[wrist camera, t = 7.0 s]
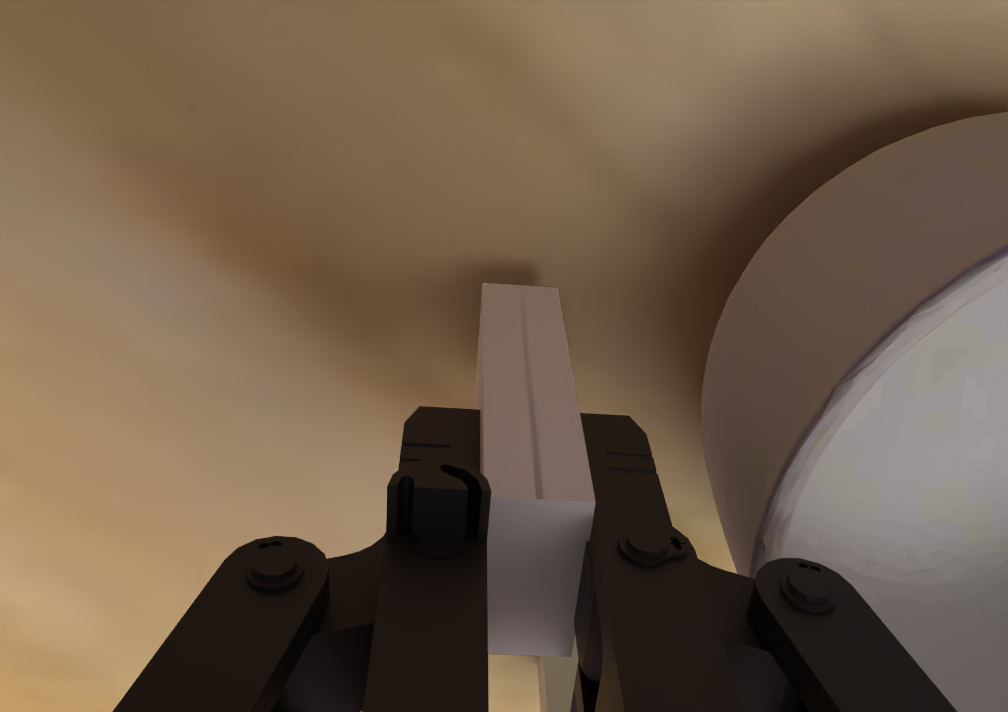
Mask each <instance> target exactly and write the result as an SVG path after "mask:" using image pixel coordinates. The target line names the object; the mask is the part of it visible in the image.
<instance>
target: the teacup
mask: <svg viewBox="0 0 1008 712" xmlns="http://www.w3.org/2000/svg"><path fill="white" fill-rule="evenodd" d="M701 419H702V436H703V444H704V452H705V460H706V466H707V470H708V474H709V478H710V482H711V486H712V491H713V495H714V499H715V503H716V507H717V511H718V515H719V518H720V521H721V525H722V528H723V531H724V534H725V538H726V541H727V544H728V547H729V550H730V553H731V556H732V559H733V561H734V564H735V567H736V570H737V573H738V574H739V575H743V576H746V577H750V578H753V579H755V578H756V574H757V571H758V570H759V569H760V568H761V567H762V566H763V565H764V564H765V563H766V562H770V561H773V560H776V559H779V558H801V559H805V560H809V561H813V562H817V563H820V564H822V565H824V566H826V567H828V568H830V569H832V570H834V571H835V572H837V573H839V574H840V575H841V576H842V577H843V578H844V579H846V580H847V581H848V582H849V583H850V584H851V585H852V586H853V587H854V588H855V589H856V590H857V592H858V593H859V594H860V595H861V596H862V598H863V599H864V600H865V601H866V602H867V604H868V605H869V606H870V607H871V608H872V610H873V611H874V612H875V613H876V614H877V616H878V617H879V618H880V619H881V620H882V622H883V623H884V624H885V625H886V626H887V628H888V629H889V630H890V631H891V632H892V634H893V635H894V636H895V637H896V638H897V640H898V641H899V642H900V643H901V644H902V646H903V647H904V648H905V649H906V650H907V652H908V653H909V654H910V655H911V656H912V658H913V659H914V660H915V661H916V662H917V664H918V665H919V666H920V667H921V668H922V670H923V671H924V672H925V673H926V674H927V676H928V677H929V678H930V679H931V680H932V682H933V683H934V684H935V685H936V686H937V688H938V689H939V690H940V691H941V692H942V694H943V695H944V696H945V697H946V698H947V700H948V701H949V702H950V703H951V704H952V706H953V707H954V708H955V709H956V710H957V712H1008V112H1002V113H996V114H989V115H983V116H977V117H970V118H966V119H962V120H958V121H955V122H951V123H947V124H944V125H940V126H936V127H932V128H930V129H927V130H925V131H922V132H920V133H917V134H914V135H912V136H909V137H907V138H904V139H902V140H899V141H897V142H895V143H892V144H890V145H888V146H885V147H883V148H881V149H879V150H877V151H875V152H873V153H871V154H869V155H868V156H866V157H865V158H863V159H861V160H860V161H858V162H856V163H855V164H853V165H852V166H850V167H848V168H847V169H845V170H844V171H842V172H841V173H839V174H838V175H837V176H835V177H834V178H832V179H831V180H829V181H828V182H826V183H825V184H824V185H822V186H821V187H819V188H818V189H816V190H815V191H814V192H813V193H812V194H811V195H810V196H808V197H807V198H806V199H805V200H804V201H803V202H802V203H801V204H800V205H799V206H797V207H796V208H795V209H794V210H793V211H792V212H791V213H790V214H789V215H788V216H787V217H786V218H785V219H784V220H783V221H782V222H781V223H780V224H779V225H778V227H777V228H776V229H775V230H774V231H773V232H772V233H771V234H770V235H769V236H768V237H767V239H766V240H765V241H764V243H763V244H762V245H761V247H760V248H759V249H758V251H757V252H756V253H755V255H754V256H753V257H752V259H751V260H750V262H749V264H748V265H747V267H746V269H745V270H744V272H743V273H742V275H741V277H740V278H739V280H738V282H737V283H736V285H735V287H734V288H733V290H732V292H731V294H730V296H729V298H728V300H727V301H726V304H725V306H724V309H723V312H722V314H721V317H720V319H719V322H718V324H717V327H716V329H715V332H714V335H713V339H712V342H711V346H710V349H709V353H708V358H707V363H706V368H705V374H704V379H703V389H702V403H701Z"/></svg>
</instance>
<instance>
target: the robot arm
mask: <svg viewBox="0 0 1008 712" xmlns="http://www.w3.org/2000/svg"><path fill="white" fill-rule="evenodd" d="M575 636H576V645H577V653H578V665H577V672H576V678H575V684H574V690H573V696H572V702H571V709H570V712H957V710H956V709H955V708H954V707H953V706H952V704H951V703H950V702H949V701H948V700H947V698H946V697H945V696H944V695H943V694H942V692H941V691H940V690H939V689H938V688H937V686H936V685H935V684H934V683H933V682H932V680H931V679H930V678H929V677H928V676H927V674H926V673H925V672H924V671H923V670H922V668H921V667H920V666H919V665H918V664H917V662H916V661H915V660H914V659H913V658H912V656H911V655H910V654H909V653H908V652H907V650H906V649H905V648H904V647H903V646H902V644H901V643H900V642H899V641H898V640H897V638H896V637H895V636H894V635H893V634H892V632H891V631H890V630H889V629H888V628H887V626H886V625H885V624H884V623H883V622H882V620H881V619H880V618H879V617H878V616H877V614H876V613H875V612H874V611H873V610H872V608H871V607H870V606H869V605H868V604H867V602H866V601H865V600H864V599H863V598H862V596H861V595H860V594H859V593H858V592H857V590H856V589H855V588H854V587H853V586H852V585H851V584H850V583H849V582H848V581H847V580H846V579H844V578H843V577H842V576H841V575H840V574H839V573H837V572H835V571H834V570H832V569H830V568H828V567H826V566H824V565H822V564H820V563H817V562H813V561H809V560H805V559H801V558H779V559H776V560H773V561H770V562H766V563H765V564H764V565H763V566H762V567H761V568H760V569H759V570H758V571H757V574H756V578H755V579H753V578H750V577H746V576H743V575H739V574H735V573H732V572H728V571H725V570H722V569H719V568H716V567H713V566H711V565H709V564H707V563H705V562H703V561H701V560H699V559H698V558H697V555H696V552H695V550H694V548H693V546H692V545H691V543H690V541H689V539H688V538H687V537H685V536H684V535H683V534H682V533H680V532H679V531H678V530H677V529H675V528H674V527H672V523H671V520H670V516H669V513H668V509H667V506H666V502H665V498H664V495H663V491H662V488H661V484H660V481H659V477H658V474H656V467H655V463H654V459H653V457H652V452H651V449H650V445H649V442H648V438H647V435H646V433H645V432H644V431H643V430H642V429H641V428H640V427H639V426H638V425H637V424H636V423H635V422H634V421H633V420H632V419H631V417H630V416H622V415H604V414H586V413H580V411H579V405H578V400H577V394H576V388H575V383H574V377H573V371H572V365H571V360H570V354H569V348H568V343H567V337H566V331H565V326H564V320H563V314H562V309H561V303H560V297H559V292H558V288H555V287H540V286H524V285H509V284H493V283H483V286H482V299H481V312H480V326H479V339H478V352H477V366H476V379H475V392H474V406H473V409H458V408H440V407H422V406H419V407H418V409H417V410H416V411H415V412H414V413H413V414H412V415H411V416H410V417H409V418H408V420H407V421H406V422H405V423H404V431H403V438H402V446H401V454H400V462H399V469H398V471H397V472H395V473H394V474H393V475H392V478H391V480H390V482H389V484H388V486H387V526H386V533H385V534H384V536H383V537H382V538H381V539H380V540H378V541H377V542H376V543H374V544H373V545H372V546H370V547H368V548H365V549H363V550H361V551H359V552H356V553H352V554H348V555H345V556H339V557H334V558H329V559H326V557H325V554H324V553H323V552H322V551H321V550H319V549H318V548H317V547H316V546H315V545H314V544H312V543H310V542H307V541H304V540H302V539H299V538H296V537H284V536H273V537H267V538H262V539H256V540H254V541H252V542H249V543H247V544H245V545H243V546H241V547H238V548H237V549H236V550H235V551H234V552H233V553H232V554H231V555H229V556H228V557H227V558H226V559H225V560H224V562H223V563H222V564H221V566H220V567H219V568H218V570H217V571H216V572H215V574H214V575H213V576H212V578H211V579H210V580H209V582H208V583H207V585H206V586H205V587H204V589H203V590H202V591H201V593H200V594H199V595H198V597H197V598H196V599H195V601H194V602H193V603H192V605H191V606H190V608H189V609H188V610H187V612H186V613H185V614H184V616H183V617H182V618H181V620H180V621H179V622H178V624H177V625H176V626H175V628H174V629H173V631H172V632H171V633H170V635H169V636H168V637H167V639H166V640H165V641H164V643H163V644H162V645H161V647H160V648H159V649H158V651H157V652H156V654H155V655H154V656H153V658H152V659H151V660H150V662H149V663H148V664H147V666H146V667H145V668H144V670H143V671H142V672H141V674H140V675H139V677H138V678H137V679H136V681H135V682H134V683H133V685H132V686H131V687H130V689H129V690H128V691H127V693H126V694H125V695H124V697H123V698H122V700H121V701H120V702H119V704H118V705H117V706H116V708H115V709H114V710H113V712H361V711H363V712H488V654H502V655H524V656H549V657H571V656H572V650H573V643H574V637H575Z"/></svg>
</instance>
